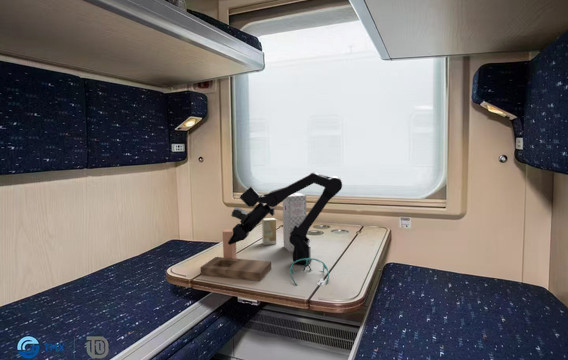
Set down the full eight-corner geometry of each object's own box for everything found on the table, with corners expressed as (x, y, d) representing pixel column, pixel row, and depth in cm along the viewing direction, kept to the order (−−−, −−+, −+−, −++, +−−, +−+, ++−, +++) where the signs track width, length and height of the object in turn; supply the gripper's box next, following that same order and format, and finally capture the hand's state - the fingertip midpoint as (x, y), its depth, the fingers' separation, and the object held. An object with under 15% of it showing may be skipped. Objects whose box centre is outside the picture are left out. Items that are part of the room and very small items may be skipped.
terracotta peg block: (236, 259, 147) (235, 229, 145) (232, 262, 143) (231, 231, 141) (228, 258, 148) (226, 229, 146) (223, 261, 144) (222, 231, 142)
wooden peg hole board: (271, 268, 135) (271, 261, 134) (260, 281, 123) (260, 272, 123) (216, 263, 142) (215, 256, 141) (200, 274, 130) (200, 267, 130)
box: (289, 251, 155) (288, 196, 152) (283, 246, 163) (282, 194, 160) (307, 249, 158) (306, 195, 155) (300, 244, 166) (299, 192, 163)
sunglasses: (325, 269, 134) (325, 257, 133) (331, 289, 119) (331, 276, 118) (289, 270, 133) (288, 258, 132) (291, 290, 119) (290, 277, 118)
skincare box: (264, 245, 166) (263, 220, 164) (262, 242, 170) (261, 218, 168) (277, 244, 167) (276, 219, 166) (274, 241, 171) (274, 217, 170)
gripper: (248, 197, 151) (224, 221, 153) (237, 205, 132) (210, 232, 135) (266, 215, 151) (242, 239, 153) (257, 225, 132) (230, 253, 135)
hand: (231, 240), depth 144 cm, fingers open, 9 cm apart
